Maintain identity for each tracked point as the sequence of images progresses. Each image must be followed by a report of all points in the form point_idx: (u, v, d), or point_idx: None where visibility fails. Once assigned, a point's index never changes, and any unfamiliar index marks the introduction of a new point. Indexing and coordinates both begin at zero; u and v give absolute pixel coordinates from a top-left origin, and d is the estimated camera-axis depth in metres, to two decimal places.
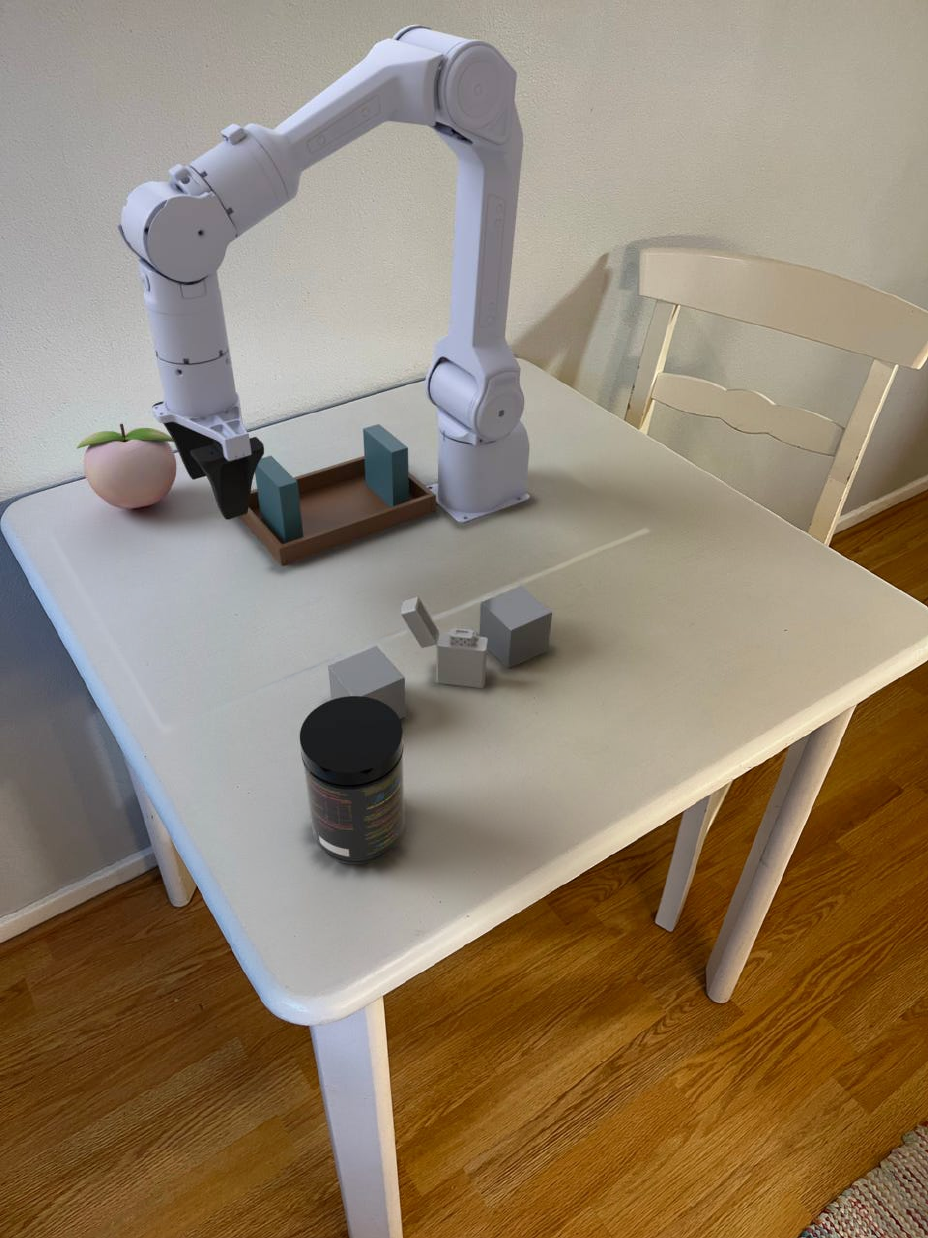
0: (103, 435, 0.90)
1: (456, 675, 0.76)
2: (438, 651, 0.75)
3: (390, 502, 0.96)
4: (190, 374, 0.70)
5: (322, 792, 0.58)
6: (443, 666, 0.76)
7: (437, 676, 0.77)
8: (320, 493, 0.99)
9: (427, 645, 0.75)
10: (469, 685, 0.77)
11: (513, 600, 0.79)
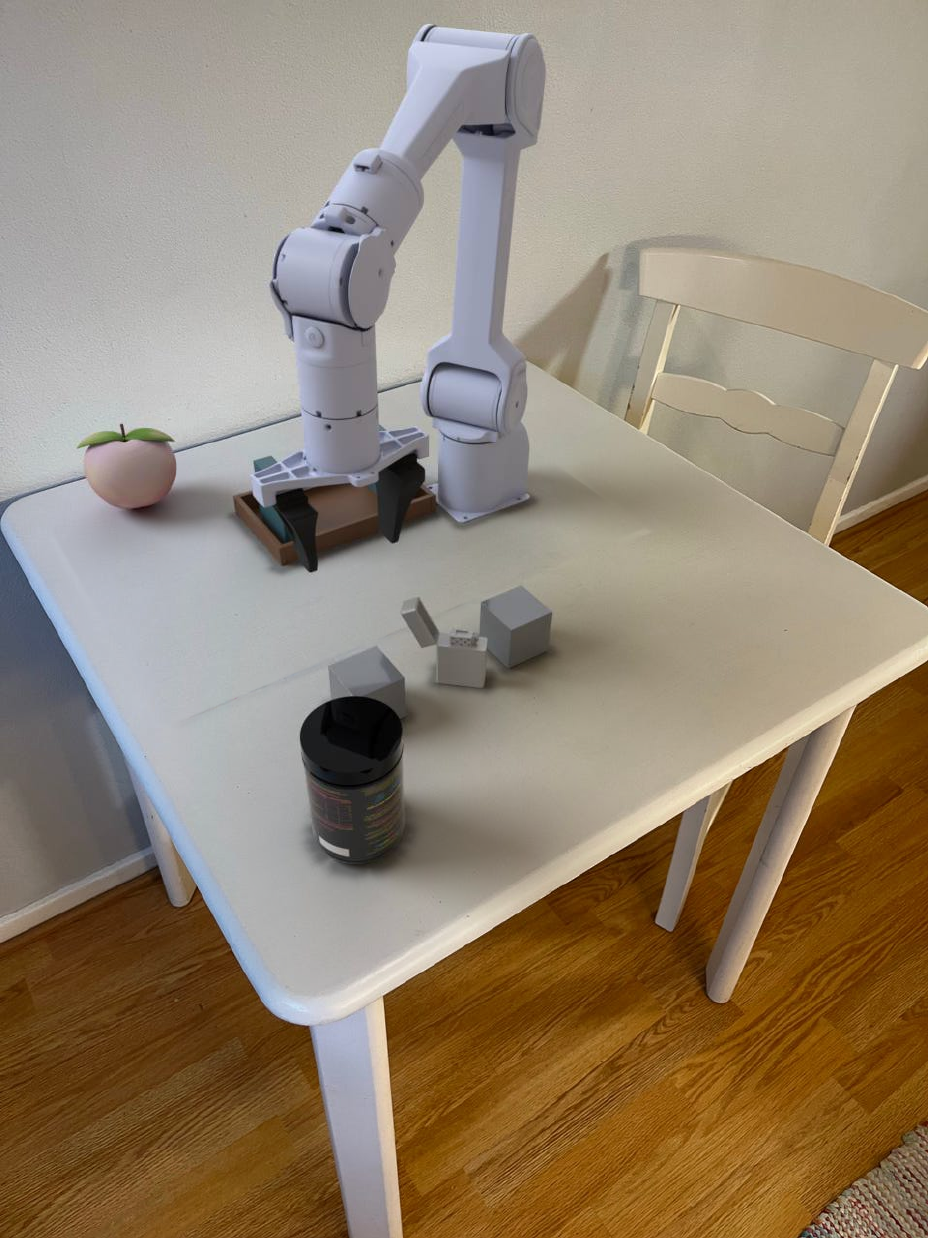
0: (103, 435, 0.90)
1: (456, 675, 0.76)
2: (438, 651, 0.75)
3: None
4: None
5: (322, 792, 0.58)
6: (443, 666, 0.76)
7: (437, 676, 0.77)
8: (320, 493, 0.99)
9: (427, 645, 0.75)
10: (469, 685, 0.77)
11: (513, 600, 0.79)
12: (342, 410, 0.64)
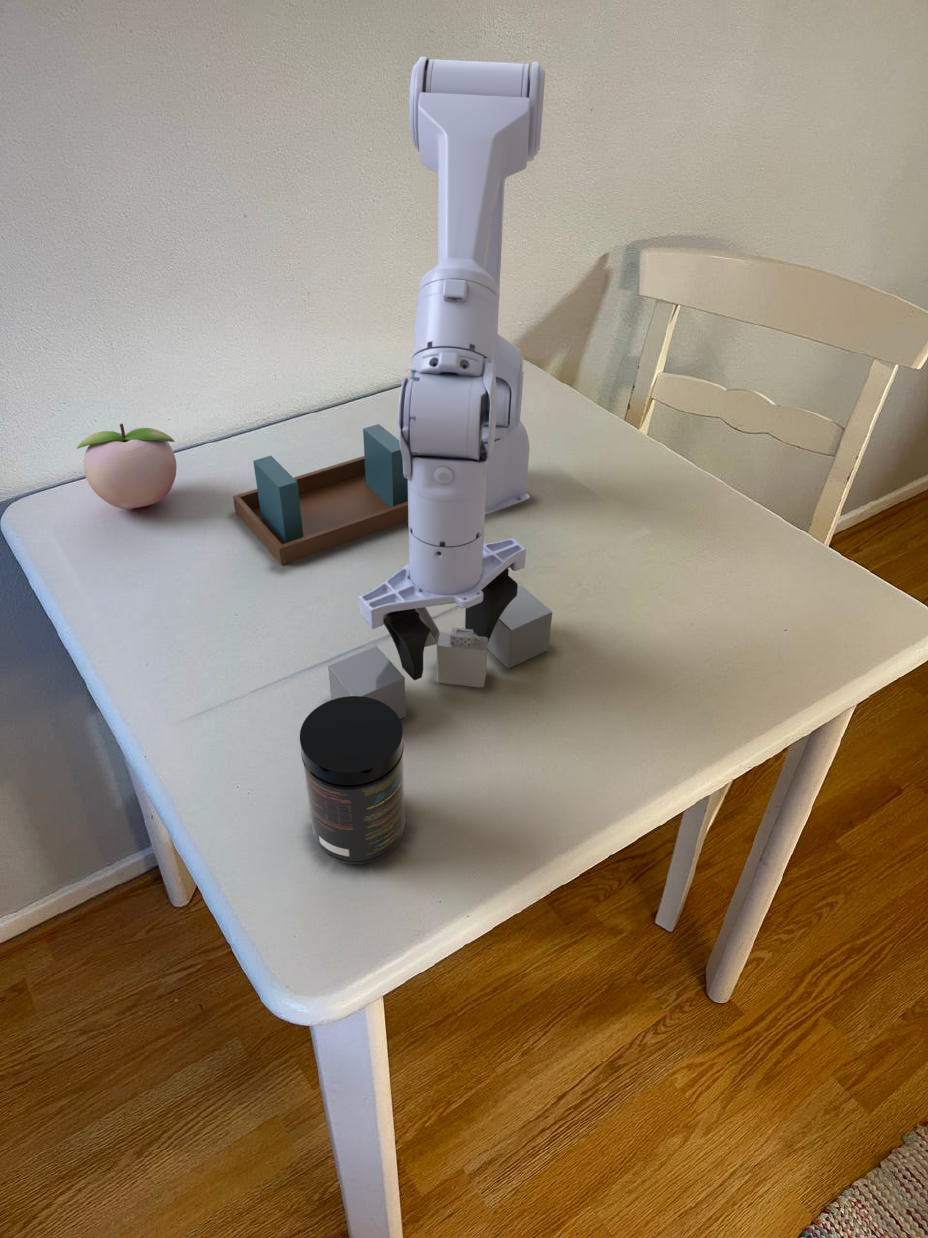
0: (103, 435, 0.90)
1: (456, 675, 0.76)
2: (438, 651, 0.75)
3: (390, 502, 0.96)
4: None
5: (322, 792, 0.58)
6: (444, 666, 0.76)
7: (438, 676, 0.77)
8: (320, 493, 0.99)
9: (427, 645, 0.75)
10: (469, 685, 0.77)
11: (513, 600, 0.79)
12: (465, 536, 0.65)
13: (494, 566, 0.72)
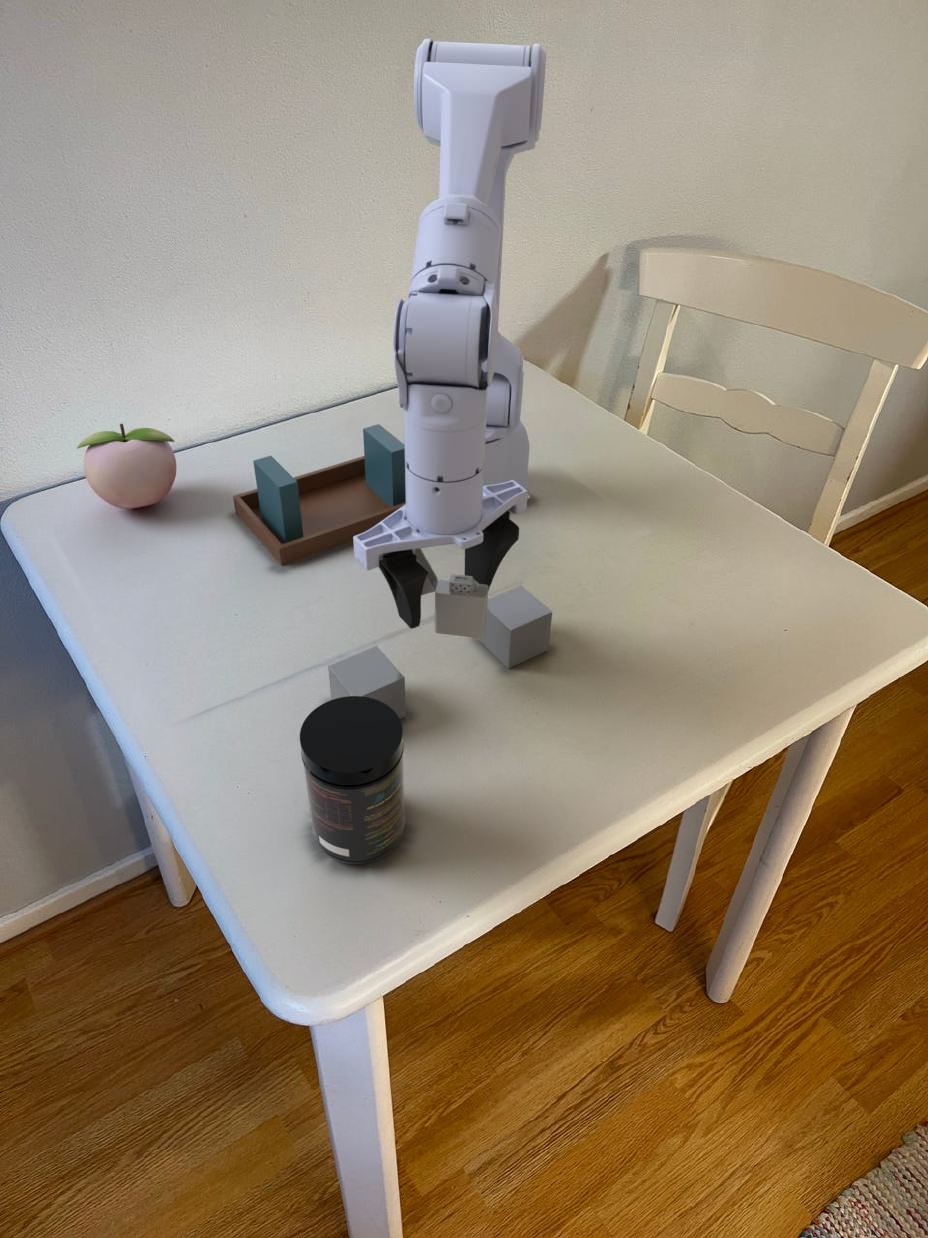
0: (103, 435, 0.90)
1: (455, 624, 0.73)
2: (437, 599, 0.72)
3: (390, 502, 0.96)
4: None
5: (322, 792, 0.58)
6: (442, 615, 0.73)
7: (436, 626, 0.74)
8: (320, 493, 0.99)
9: (425, 592, 0.72)
10: (469, 635, 0.74)
11: (513, 600, 0.79)
12: (464, 471, 0.62)
13: (495, 508, 0.69)
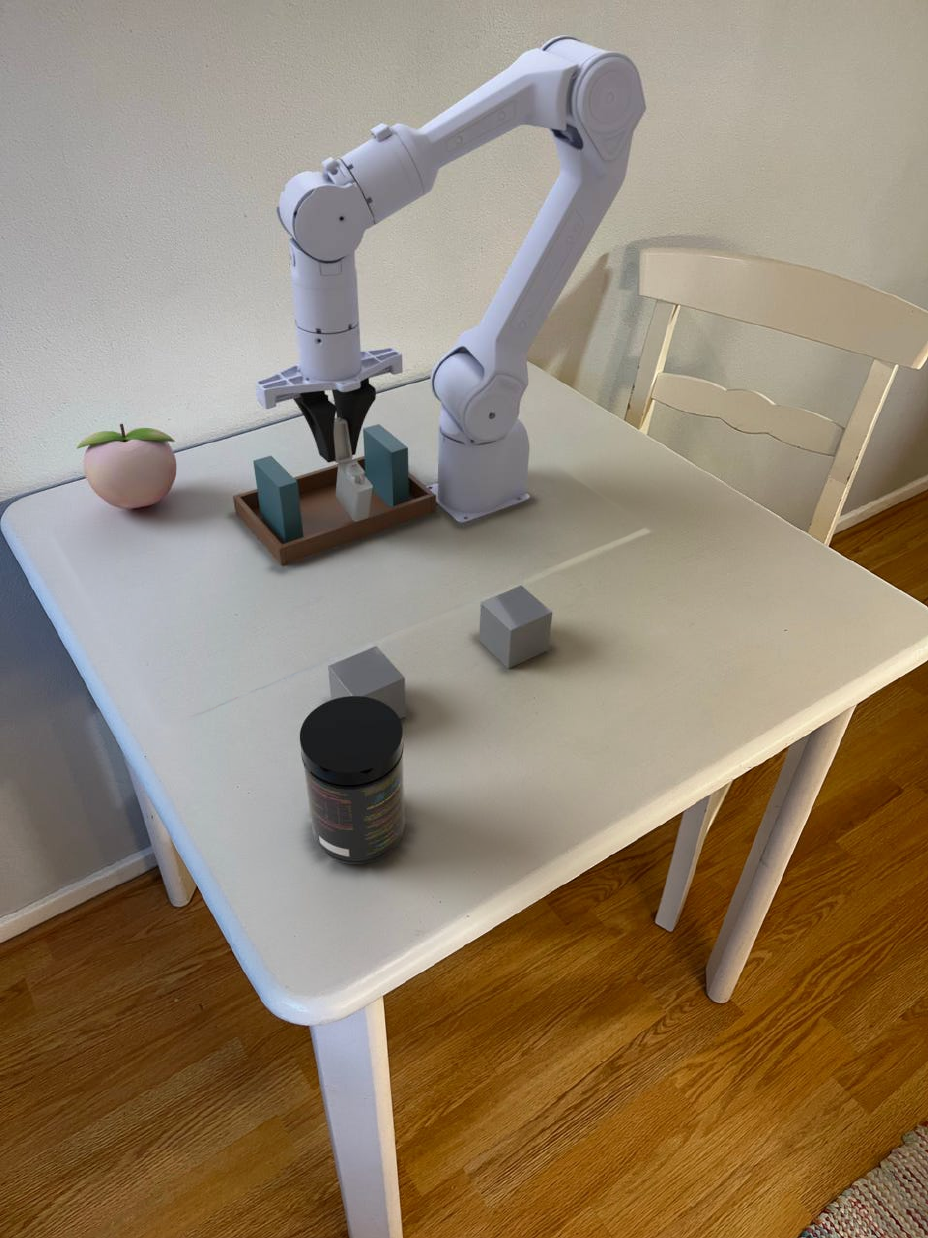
0: (103, 435, 0.90)
1: (343, 498, 0.90)
2: (338, 470, 0.89)
3: (390, 502, 0.96)
4: (359, 329, 0.82)
5: (322, 792, 0.58)
6: (339, 485, 0.90)
7: (336, 490, 0.91)
8: (320, 493, 0.99)
9: None
10: (348, 513, 0.90)
11: (513, 600, 0.79)
12: (305, 323, 0.78)
13: (374, 366, 0.85)
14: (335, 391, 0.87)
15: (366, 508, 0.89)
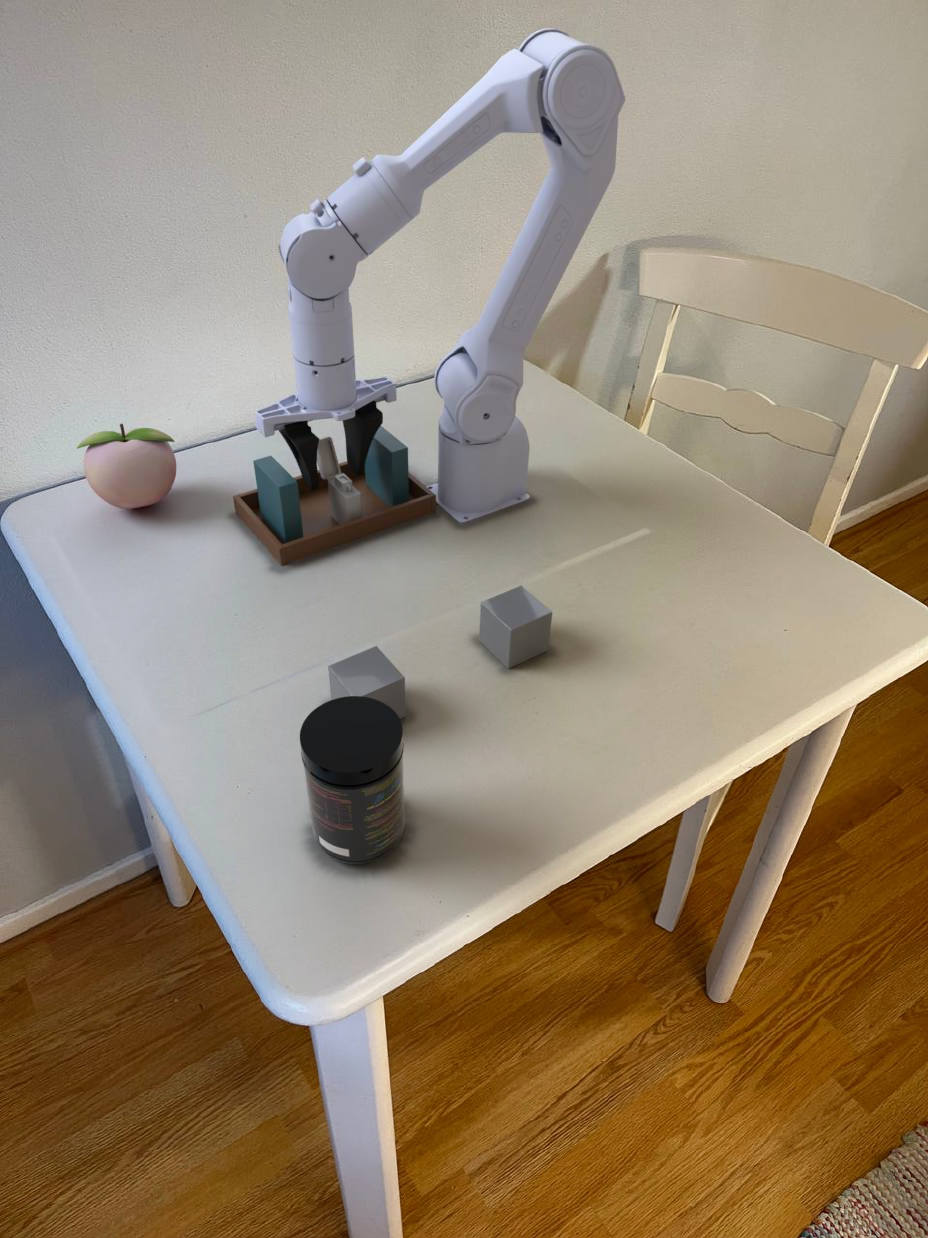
0: (103, 435, 0.90)
1: (337, 513, 0.94)
2: (329, 486, 0.93)
3: (390, 502, 0.96)
4: (354, 360, 0.85)
5: (322, 792, 0.58)
6: (331, 501, 0.94)
7: (330, 509, 0.95)
8: (320, 493, 0.99)
9: (324, 477, 0.93)
10: None
11: (513, 600, 0.79)
12: (300, 355, 0.82)
13: (368, 395, 0.89)
14: None
15: None
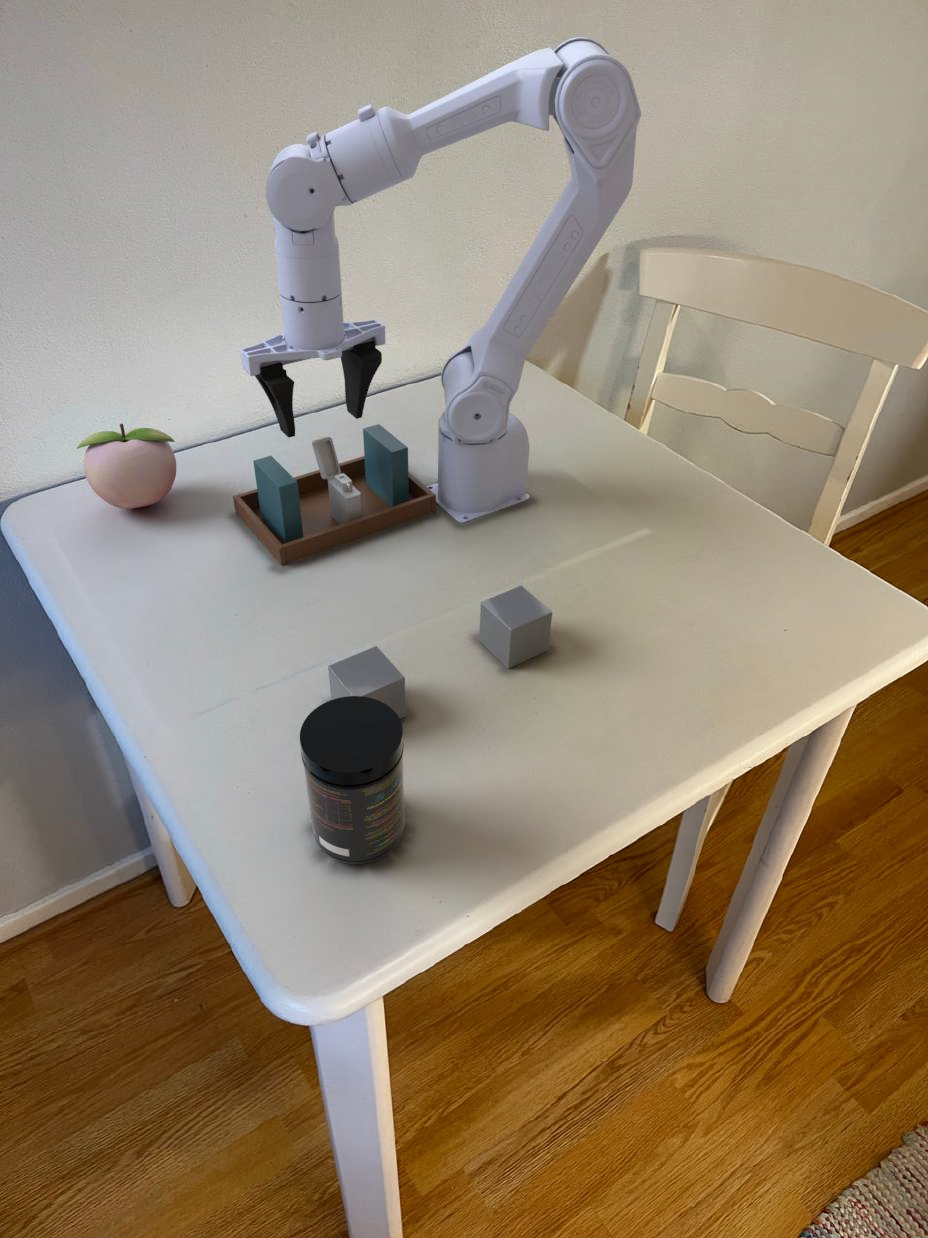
0: (103, 435, 0.90)
1: (337, 513, 0.94)
2: (328, 486, 0.93)
3: (390, 502, 0.96)
4: None
5: (322, 792, 0.58)
6: (331, 501, 0.94)
7: (330, 509, 0.95)
8: (320, 493, 0.99)
9: (324, 477, 0.93)
10: None
11: (513, 600, 0.79)
12: (283, 290, 0.82)
13: None
14: (343, 356, 0.91)
15: None
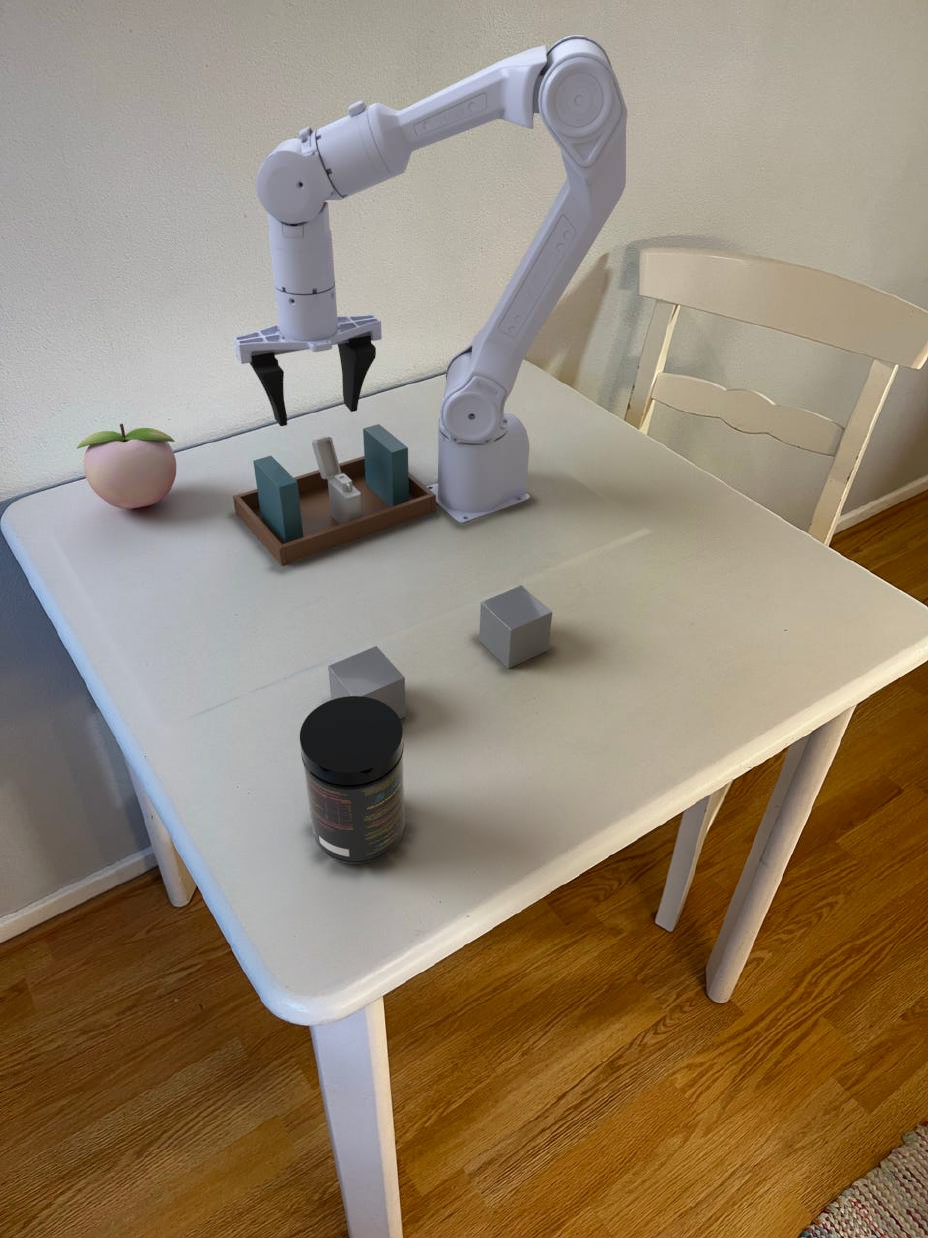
0: (103, 435, 0.90)
1: (337, 513, 0.94)
2: (329, 486, 0.93)
3: (390, 502, 0.96)
4: (335, 293, 0.85)
5: (322, 792, 0.58)
6: (331, 501, 0.94)
7: (330, 509, 0.95)
8: (320, 493, 0.99)
9: (324, 477, 0.93)
10: None
11: (513, 600, 0.79)
12: (275, 281, 0.83)
13: None
14: (340, 349, 0.92)
15: None
